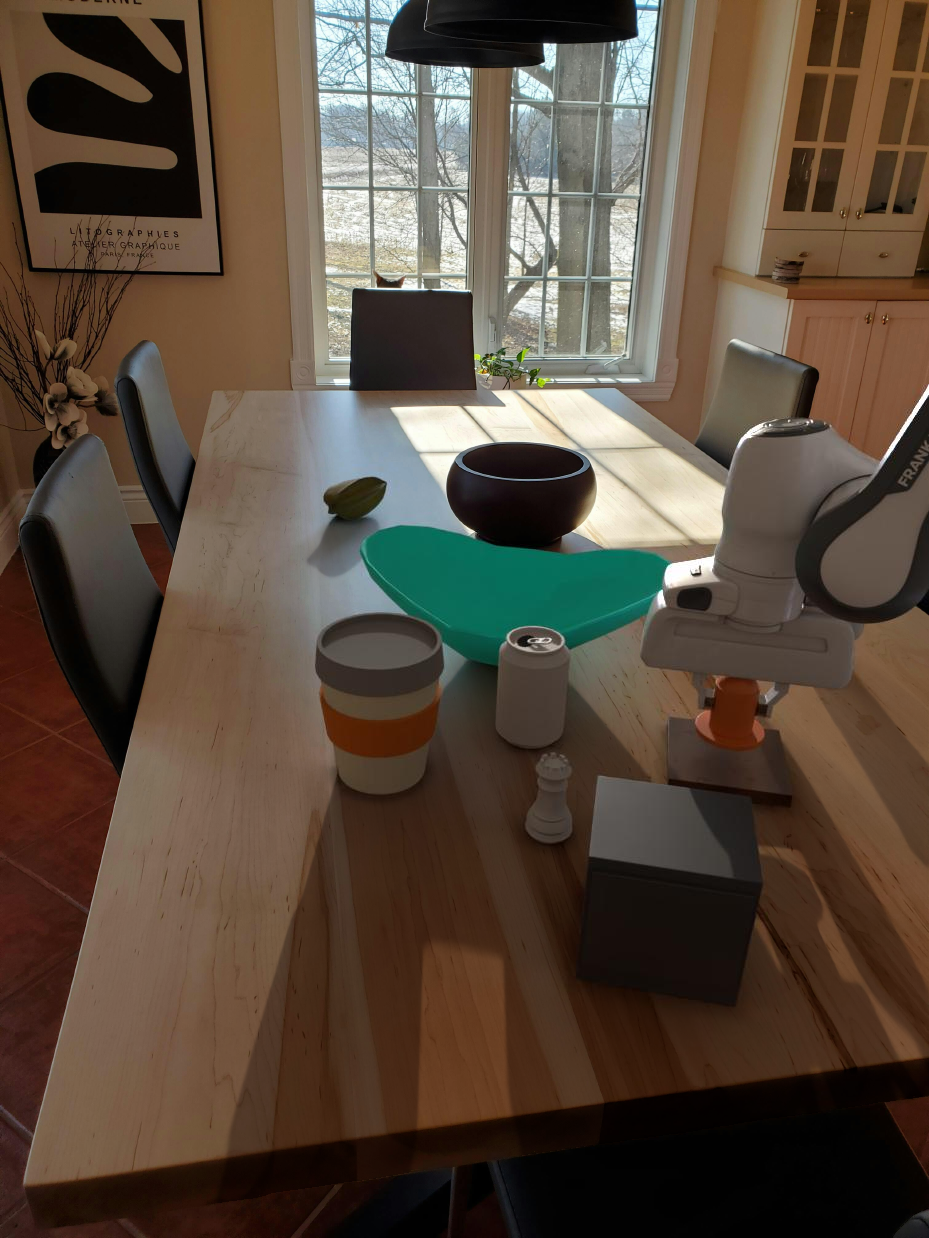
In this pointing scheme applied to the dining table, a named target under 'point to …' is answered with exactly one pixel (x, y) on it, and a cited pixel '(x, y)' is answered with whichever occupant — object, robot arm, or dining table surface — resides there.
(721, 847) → the display block
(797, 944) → the dining table surface
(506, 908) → the dining table surface
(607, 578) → the table top decor
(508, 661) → the can
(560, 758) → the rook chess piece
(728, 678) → the orange domed flanged cylinder
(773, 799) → the walnut stand
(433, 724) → the reusable coffee cup
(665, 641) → the robot arm
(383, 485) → the fruit
